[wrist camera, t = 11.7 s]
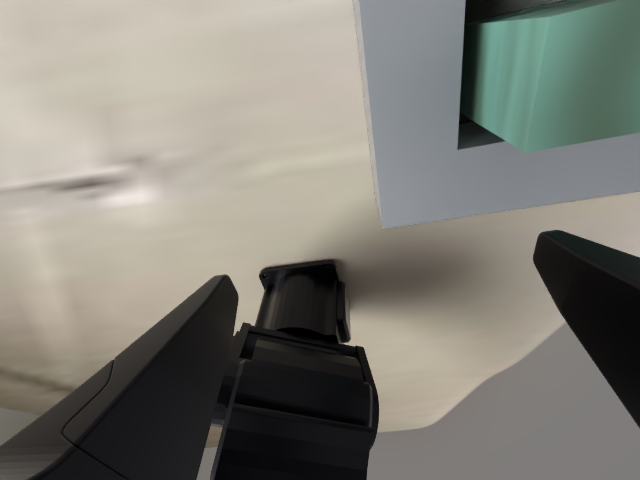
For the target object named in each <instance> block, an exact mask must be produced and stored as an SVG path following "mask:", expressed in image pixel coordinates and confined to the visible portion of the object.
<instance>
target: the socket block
mask: <svg viewBox="0 0 640 480" xmlns="http://www.w3.org/2000/svg"><path fill="white" fill-rule="evenodd" d="M465 1H466V0H353V5H354V14H355V23H356V31H357V40H358V49H359V58H360V67H361V76H362V85H363V94H364V102H365V111H366V120H367V129H368V138H369V147H370V156H371V165H372V173H373V182H374V191H375V199H376V203H377V208H378V212H379V216H380V220H381V224H382V228H383V229H387V228H394V227H401V226H407V225H414V224H421V223H428V222H435V221H442V220H448V219H455V218H462V217H469V216H476V215H483V214H489V213H496V212H503V211H510V210H517V209H524V208H530V207H537V206H544V205H551V204H558V203H565V202H571V201H578V200H585V199H592V198H599V197H606V196H612V195H619V194H626V193H633V192H640V133H635V134H629V135H623V136H618V137H612V138H606V139H601V140H595V141H590V142H584V143H578V144H573V145H567V146H561V147H556V148H550V149H545V150H539V151H533V152H528V153H525V152H523V151H522V150H520V149H518V148H517V147H515V146H513V145H512V144H510V143H508V142H507V141H505V140H504V139H502V138H500V137H499V136H497V135H495V134H494V133H492V132H490V131H489V130H487V129H486V128H484V127H482V126H481V125H479V124H477V123H476V122H470V123H465V124H460V125H459V111H460V92H461V74H462V56H463V38H464V19H465ZM565 1H568V0H565Z"/></svg>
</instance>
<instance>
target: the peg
mask: <svg viewBox="0 0 640 480" xmlns="http://www.w3.org/2000/svg"><path fill="white" fill-rule="evenodd" d="M459 113H461V114H463V115H464V116H466V117H467V118H469V119H471V120H472V121H474V122H476V123H477V124H479V125H481V126H482V127H484V128H486V129H487V130H489V131H490V132H492V133H494V134H495V135H497V136H499V137H500V138H502V139H504V140H505V141H507V142H508V143H510V144H512V145H513V146H515V147H517V148H518V149H520V150H522V151H523V152H525V153H528V152H533V151H539V150H545V149H550V148H556V147H561V146H567V145H573V144H578V143H584V142H590V141H595V140H601V139H606V138H612V137H618V136H623V135H629V134H635V133H640V0H568V1H562V2H555V3H549V4H543V5H539V6H535V7H531V8H526V9H522V10H518V11H514V12H510V13H506V14H502V15H498V16H494V17H490V18H486V19H482V20H478V21H474V22H470V23H466V24H464V38H463V56H462V74H461V92H460V111H459Z"/></svg>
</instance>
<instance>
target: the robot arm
mask: <svg viewBox="0 0 640 480" xmlns="http://www.w3.org/2000/svg"><path fill="white" fill-rule="evenodd" d="M533 261H534V264H535V267H536V268H537V270H538V272H539V274H540V276H541V278H542V280H543V282H544V284H545V285H546V287H547V289H548V291H549V293H550V295H551V297H552V299H553V301H554V302H555V304H556V306H557V308H558V310H559V311H560V313H561V314H562V316H563V317H564V319H565V321H566V322H567V323H568V325H569V326H570V328H571V329H572V331H573V332H574V334H575V335H576V337H577V338H578V339H579V341H580V342H581V344H582V345H583V347H584V348H585V350H586V351H587V353H588V354H589V355H590V357H591V358H592V360H593V361H594V363H595V364H596V366H597V367H598V368H599V370H600V371H601V373H602V374H603V376H604V377H605V379H606V380H607V382H608V383H609V385H610V386H611V387H612V389H613V390H614V392H615V393H616V395H617V396H618V398H619V399H620V400H621V402H622V403H623V405H624V406H625V408H626V409H627V411H628V412H629V414H630V415H631V416H632V418H633V419H634V421H635V422H636V424H637V425H638V427H639V428H640V258H639V257H636V256H633V255H630V254H628V253H625V252H622V251H619V250H616V249H613V248H610V247H607V246H604V245H601V244H598V243H595V242H593V241H590V240H587V239H584V238H581V237H578V236H575V235H572V234H569V233H566V232H563V231H560V230H553V231H545V232H542V233H540V234H539V236H538V239H537V243H536V247H535V251H534V255H533ZM327 266H332V267H331V268H329V267H327ZM264 274H265V275H267V276H265V275H264ZM259 278H260V280H261V283H262V285H263V287H264V290H265V291H264V295H263V299H262V302H261V306H260V309H259V313H258V316H257V320H256V323H255V326H252V325H251V324H249V323H244V322H243V324H242V327H241V329H240V332H239V331H237V332H236V335H235V336H233V333H234V327H235V320H236V313H237V306H238V293H237V291H236V289H235V287H234V285H233V283H232V281H231V279H230V277H229V276H228V275H217V276H214V277H213V278H211V279H210V280H209V281H208V282H206V283H205V284H204V285H203V286H202V287H200V288H199V289H198V290H197V291H196V292H194V293H193V294H192V295H191V296H189V297H188V298H187V299H186V300H185V301H183V302H182V303H181V304H180V305H178V306H177V307H176V308H175V309H174V310H172V311H171V312H170V313H169V314H168V315H166V316H165V317H164V318H163V319H161V320H160V321H159V322H158V323H157V324H155V325H154V326H153V327H152V328H150V329H149V330H148V331H147V332H146V333H144V334H143V335H142V336H141V337H140V338H138V339H137V340H136V341H135V342H133V343H132V344H131V345H130V346H129V347H127V348H126V349H125V350H124V351H122V352H121V353H120V354H119V355H118V356H116V357H115V359H114V360H111V361H110V362H109V363H108V364H107V365H105V366H104V367H103V368H102V369H101V370H99V371H98V372H97V373H96V374H94V375H93V376H92V377H91V378H89V379H88V380H87V381H86V382H84V383H83V384H82V385H81V386H79V387H78V388H77V389H75V390H74V391H73V392H71V393H70V394H69V395H67V396H66V397H65V398H64V399H62V400H61V401H60V402H58V403H57V404H56V405H54V406H53V407H52V408H50V409H49V410H48V411H46V412H45V413H44V414H42V415H41V416H40V417H38V418H37V419H36V420H34V421H33V422H32V423H30V424H29V425H27V426H26V427H25V428H23V429H22V430H21V431H19V432H18V433H17V434H15V435H14V436H13V437H11V438H10V439H9V440H7V441H6V442H5V443H3V444H2V445H1V446H0V480H196V478H197V475H198V471H199V467H200V463H201V460H202V456H203V452H204V448H205V444H206V441H207V437H208V433H209V429H210V425H211V426H215V427H223V429H222V432H221V436H220V440H219V444H218V448H217V452H216V456H215V459H214V463H213V467H212V471H211V476H210V480H366V479H367V467H368V459H369V451H370V449H371V448H372V446H373V444H374V441H375V438H376V434H377V429H378V422H379V401H378V394H377V390H376V386H375V383H374V380H373V377H372V373H371V370H370V367H369V364H368V360H367V357H366V354H365V351H364V348H363V347H361V346H355V347H354V346H349V345H344V344H343V343H347V342H349V341H350V340H351V334H350V313H349V300H348V296H347V291H346V287H345V283H344V282H343V281H339V276H338V272H337V268H336V264H335V262H333V261H330V260H328V261H321V262H313V263H306V264H299V265H291V266H284V267H276V268H269V269H263V270H261V271H260V274H259Z"/></svg>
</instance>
